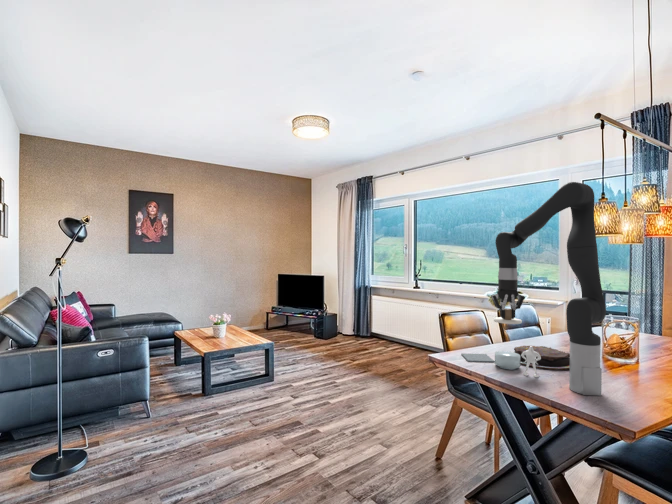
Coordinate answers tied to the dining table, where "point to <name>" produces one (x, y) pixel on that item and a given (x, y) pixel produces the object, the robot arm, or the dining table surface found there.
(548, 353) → the chocolate cake
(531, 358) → the figurine
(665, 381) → the dining table surface
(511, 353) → the pale green rounded block
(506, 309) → the cover
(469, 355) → the mat
